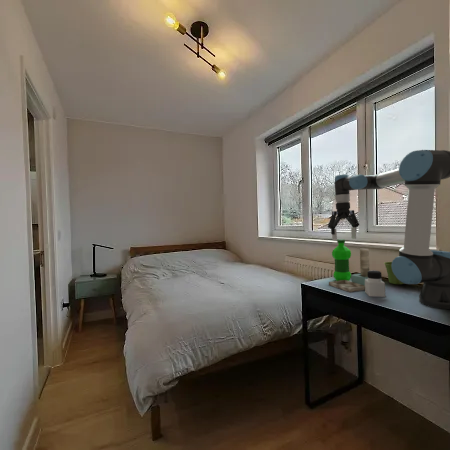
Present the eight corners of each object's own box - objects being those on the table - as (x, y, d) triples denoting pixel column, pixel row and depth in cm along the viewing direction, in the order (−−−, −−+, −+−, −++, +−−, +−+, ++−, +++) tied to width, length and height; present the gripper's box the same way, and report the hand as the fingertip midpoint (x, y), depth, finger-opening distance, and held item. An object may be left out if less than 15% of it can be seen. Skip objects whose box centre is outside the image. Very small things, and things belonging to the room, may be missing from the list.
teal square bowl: (379, 287, 147) (379, 276, 146) (365, 289, 144) (365, 278, 144) (365, 283, 156) (365, 272, 156) (351, 285, 153) (351, 274, 153)
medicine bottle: (385, 297, 130) (385, 272, 129) (369, 297, 131) (368, 272, 131) (380, 293, 137) (379, 269, 136) (364, 293, 138) (364, 269, 138)
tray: (366, 290, 143) (366, 286, 142) (349, 293, 139) (349, 288, 139) (344, 283, 158) (344, 279, 158) (328, 285, 154) (328, 281, 154)
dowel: (371, 285, 148) (370, 249, 148) (365, 286, 147) (364, 250, 146) (365, 284, 152) (364, 248, 152) (359, 285, 151) (357, 249, 150)
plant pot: (414, 285, 147) (414, 264, 146) (392, 286, 147) (391, 265, 146) (400, 280, 158) (400, 261, 158) (380, 281, 159) (379, 262, 158)
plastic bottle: (332, 283, 160) (330, 240, 159) (334, 278, 169) (333, 238, 168) (350, 284, 155) (349, 240, 154) (352, 280, 164) (351, 238, 163)
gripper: (355, 202, 163) (356, 237, 163) (320, 203, 155) (321, 240, 156) (365, 201, 156) (366, 238, 156) (329, 202, 148) (330, 241, 148)
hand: (344, 239), depth 156 cm, fingers open, 13 cm apart
